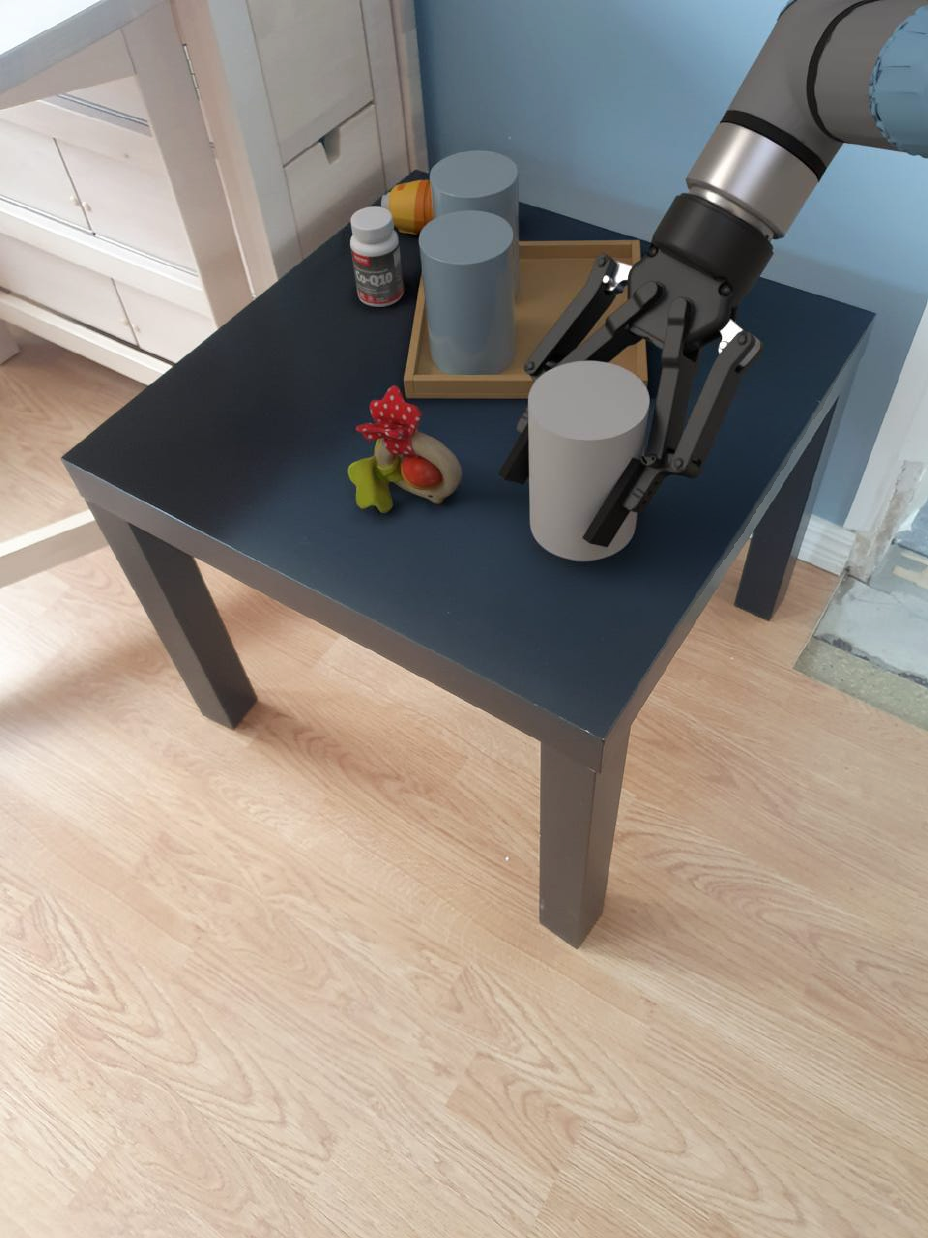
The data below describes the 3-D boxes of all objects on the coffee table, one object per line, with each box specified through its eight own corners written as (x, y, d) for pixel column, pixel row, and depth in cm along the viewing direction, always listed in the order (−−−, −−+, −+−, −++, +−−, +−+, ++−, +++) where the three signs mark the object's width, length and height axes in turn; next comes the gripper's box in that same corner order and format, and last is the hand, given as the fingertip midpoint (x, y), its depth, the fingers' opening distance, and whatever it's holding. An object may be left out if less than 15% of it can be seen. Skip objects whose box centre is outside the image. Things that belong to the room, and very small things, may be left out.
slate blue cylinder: (517, 325, 95) (515, 208, 86) (514, 380, 90) (511, 263, 81) (434, 325, 96) (423, 210, 86) (427, 380, 91) (414, 264, 82)
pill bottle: (354, 307, 99) (340, 231, 93) (363, 279, 102) (350, 203, 95) (400, 309, 99) (390, 232, 92) (408, 280, 102) (399, 204, 95)
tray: (637, 257, 102) (639, 239, 100) (645, 399, 89) (647, 380, 87) (428, 260, 104) (426, 241, 102) (406, 398, 91) (403, 380, 89)
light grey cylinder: (651, 501, 77) (666, 378, 68) (612, 574, 73) (622, 454, 64) (555, 471, 80) (557, 349, 70) (512, 540, 76) (507, 420, 66)
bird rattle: (450, 490, 86) (354, 444, 85) (496, 408, 77) (389, 356, 76) (428, 543, 83) (328, 497, 82) (474, 464, 74) (362, 410, 72)
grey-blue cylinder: (521, 264, 101) (520, 148, 92) (518, 312, 96) (516, 196, 87) (443, 265, 102) (433, 150, 92) (436, 313, 97) (425, 197, 87)
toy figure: (380, 243, 106) (491, 248, 104) (372, 195, 102) (488, 199, 100) (392, 215, 109) (499, 220, 107) (385, 167, 105) (497, 170, 103)
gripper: (879, 300, 63) (681, 594, 70) (637, 182, 74) (485, 449, 81) (848, 261, 57) (634, 587, 64) (588, 138, 68) (429, 431, 75)
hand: (551, 510), depth 72 cm, fingers closed on light grey cylinder, 8 cm apart
